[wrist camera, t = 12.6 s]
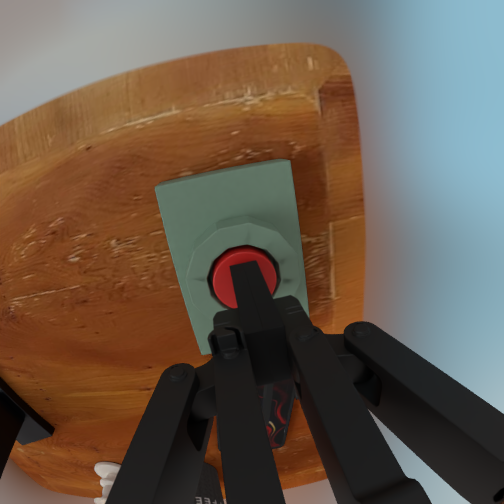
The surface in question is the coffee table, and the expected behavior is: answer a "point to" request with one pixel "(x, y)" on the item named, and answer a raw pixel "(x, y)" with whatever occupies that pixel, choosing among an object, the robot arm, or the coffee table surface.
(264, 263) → the button
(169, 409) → the robot arm
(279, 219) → the button box
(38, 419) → the bracket
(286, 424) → the smartphone
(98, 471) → the candle
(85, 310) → the coffee table surface
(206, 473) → the coffee cup
